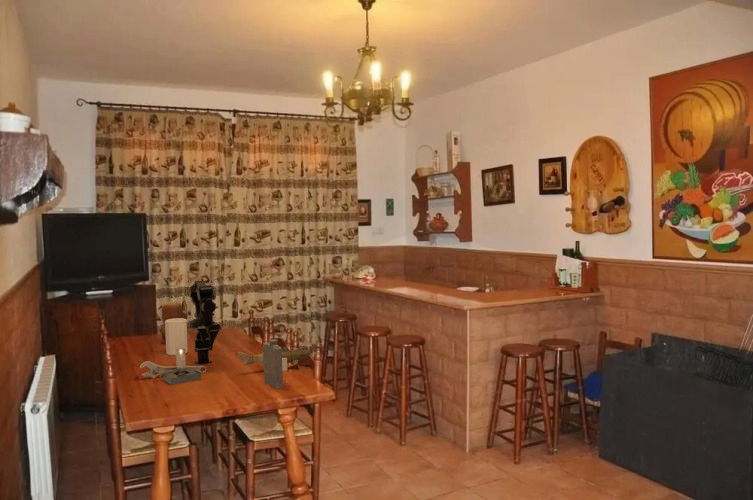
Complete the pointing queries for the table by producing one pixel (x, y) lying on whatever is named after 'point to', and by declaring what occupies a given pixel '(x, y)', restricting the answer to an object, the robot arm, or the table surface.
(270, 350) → the hip flask
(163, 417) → the table surface
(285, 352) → the wood carving
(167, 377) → the grey square frame
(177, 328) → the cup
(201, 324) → the robot arm
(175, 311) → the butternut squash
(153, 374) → the wrench
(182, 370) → the pin
